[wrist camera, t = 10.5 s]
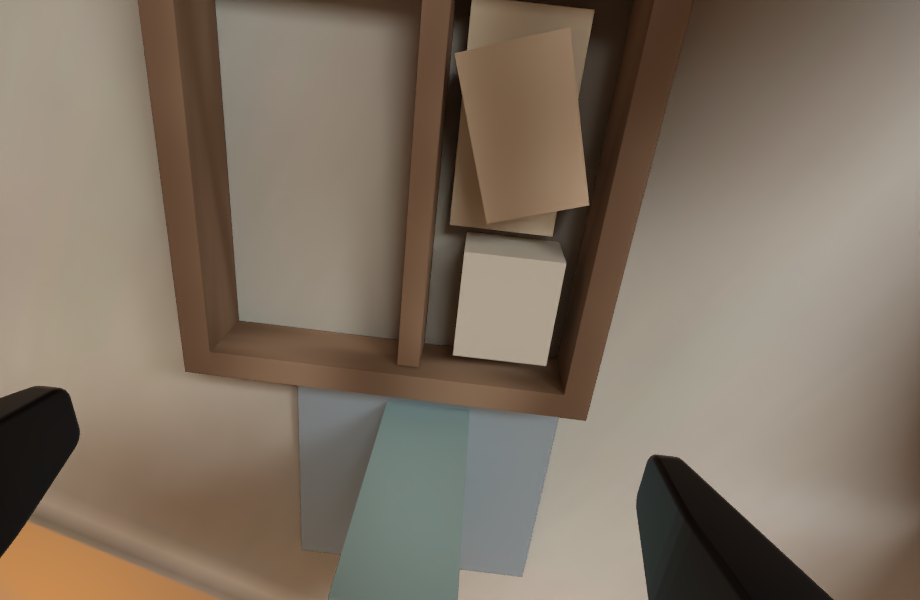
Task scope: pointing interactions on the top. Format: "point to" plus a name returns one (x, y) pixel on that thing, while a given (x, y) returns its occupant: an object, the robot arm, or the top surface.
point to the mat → (486, 484)
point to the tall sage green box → (408, 509)
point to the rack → (408, 359)
